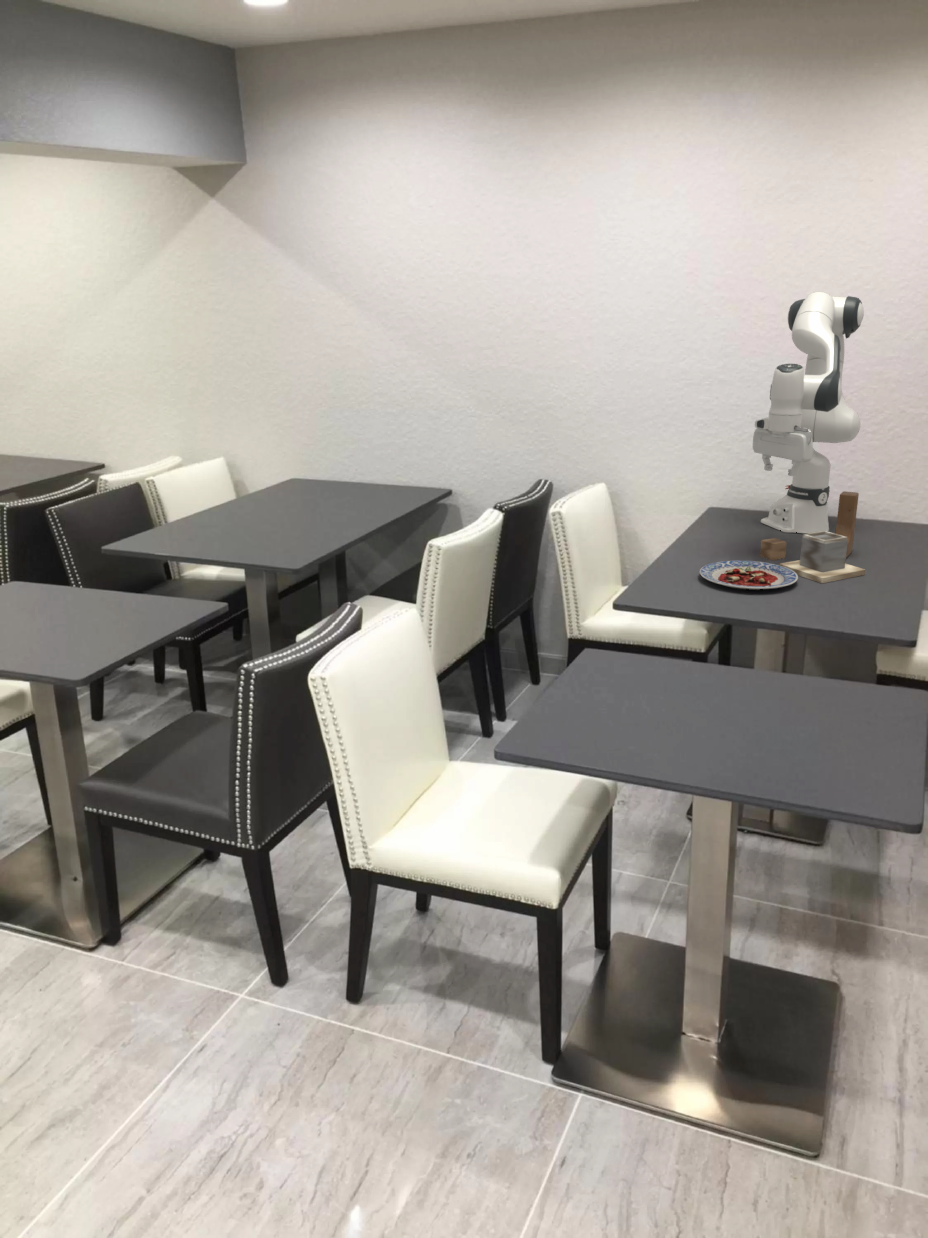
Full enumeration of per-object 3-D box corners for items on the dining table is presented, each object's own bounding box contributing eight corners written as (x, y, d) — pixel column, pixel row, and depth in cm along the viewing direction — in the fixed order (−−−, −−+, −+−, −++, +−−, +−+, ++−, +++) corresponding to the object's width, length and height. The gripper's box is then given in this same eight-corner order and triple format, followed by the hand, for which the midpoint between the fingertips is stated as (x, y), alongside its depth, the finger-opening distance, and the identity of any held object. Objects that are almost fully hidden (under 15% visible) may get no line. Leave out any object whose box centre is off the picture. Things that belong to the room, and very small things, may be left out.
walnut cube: (759, 556, 297) (761, 540, 295) (772, 554, 299) (774, 538, 297) (772, 560, 292) (773, 544, 291) (785, 558, 295) (786, 541, 293)
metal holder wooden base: (778, 568, 284) (782, 533, 281) (820, 561, 291) (824, 526, 288) (821, 583, 271) (825, 546, 267) (864, 574, 278) (869, 538, 274)
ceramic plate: (794, 599, 259) (795, 588, 258) (692, 590, 267) (693, 579, 266) (799, 572, 282) (800, 562, 281) (705, 564, 290) (706, 554, 289)
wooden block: (845, 559, 292) (852, 498, 286) (829, 557, 294) (835, 496, 289) (852, 552, 299) (859, 492, 294) (836, 550, 302) (843, 490, 296)
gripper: (820, 427, 275) (815, 477, 280) (767, 418, 293) (763, 466, 297) (803, 429, 273) (798, 480, 277) (750, 420, 290) (746, 468, 295)
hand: (779, 472), depth 287 cm, fingers open, 8 cm apart
